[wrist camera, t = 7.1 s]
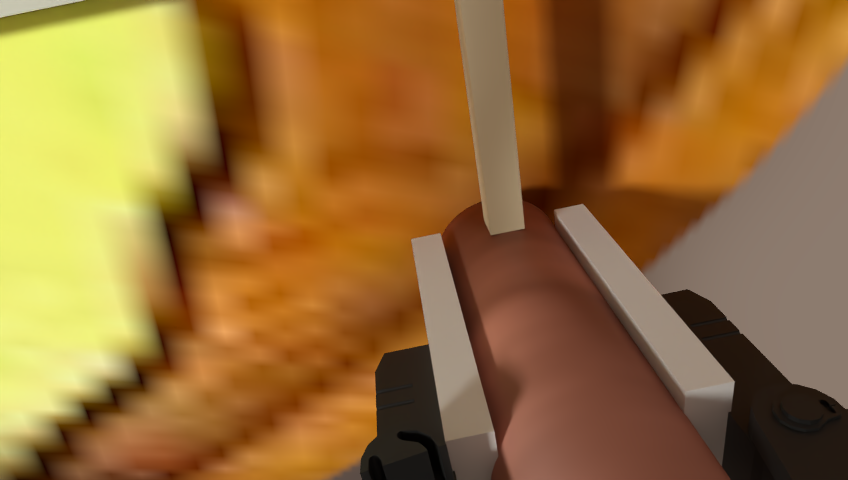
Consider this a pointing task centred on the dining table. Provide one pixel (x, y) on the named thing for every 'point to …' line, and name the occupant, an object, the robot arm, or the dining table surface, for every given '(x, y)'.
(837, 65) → the dining table surface
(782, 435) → the robot arm
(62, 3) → the white compartment tray
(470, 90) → the tethered block
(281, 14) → the dining table surface
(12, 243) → the dining table surface
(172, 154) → the dining table surface
